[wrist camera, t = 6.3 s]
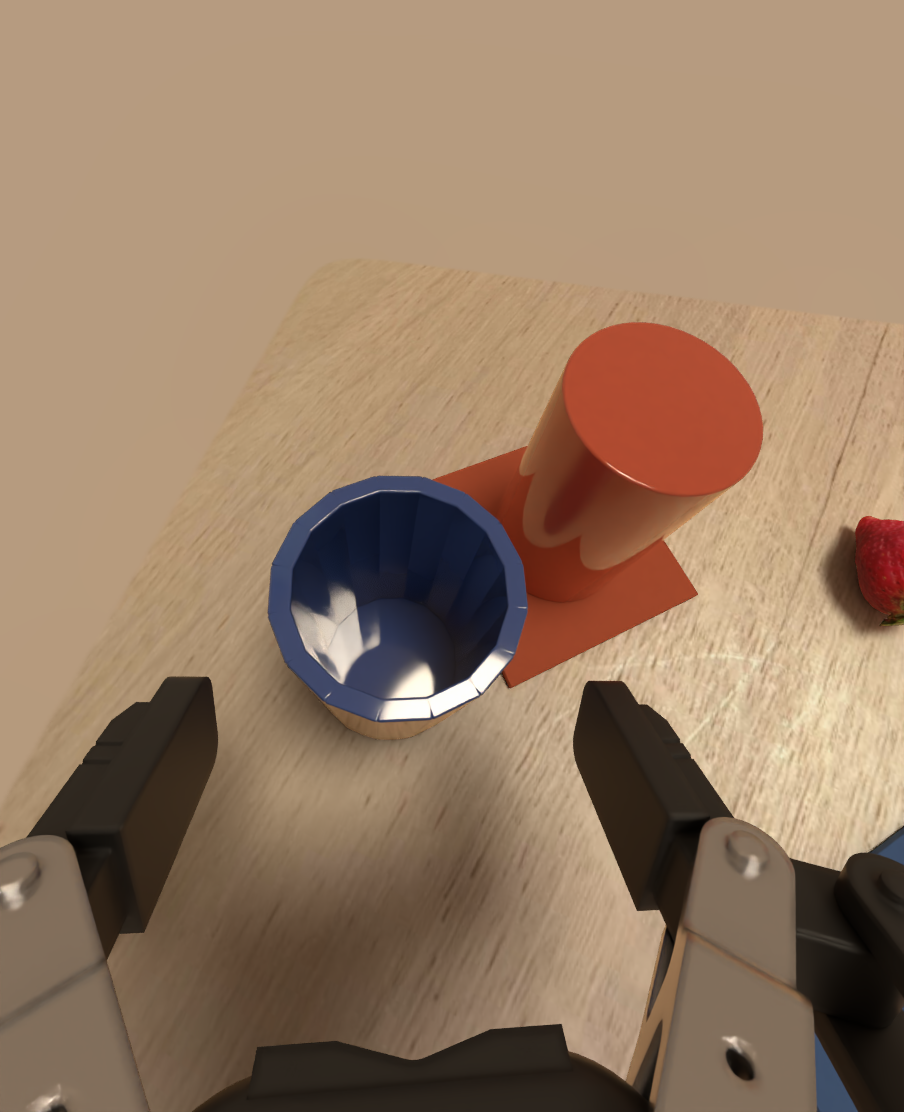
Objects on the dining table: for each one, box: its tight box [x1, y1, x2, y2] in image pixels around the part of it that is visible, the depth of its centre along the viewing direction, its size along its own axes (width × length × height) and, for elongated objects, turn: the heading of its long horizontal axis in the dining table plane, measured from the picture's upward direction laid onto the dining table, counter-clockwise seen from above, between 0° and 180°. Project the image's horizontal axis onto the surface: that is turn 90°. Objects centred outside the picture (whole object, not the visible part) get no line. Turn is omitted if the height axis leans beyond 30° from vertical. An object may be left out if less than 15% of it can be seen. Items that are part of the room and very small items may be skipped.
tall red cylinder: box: [495, 322, 763, 602], centre depth 19 cm, size 6×6×10 cm
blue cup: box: [268, 476, 528, 740], centre depth 17 cm, size 6×6×10 cm
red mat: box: [433, 446, 698, 688], centre depth 24 cm, size 10×10×1 cm
